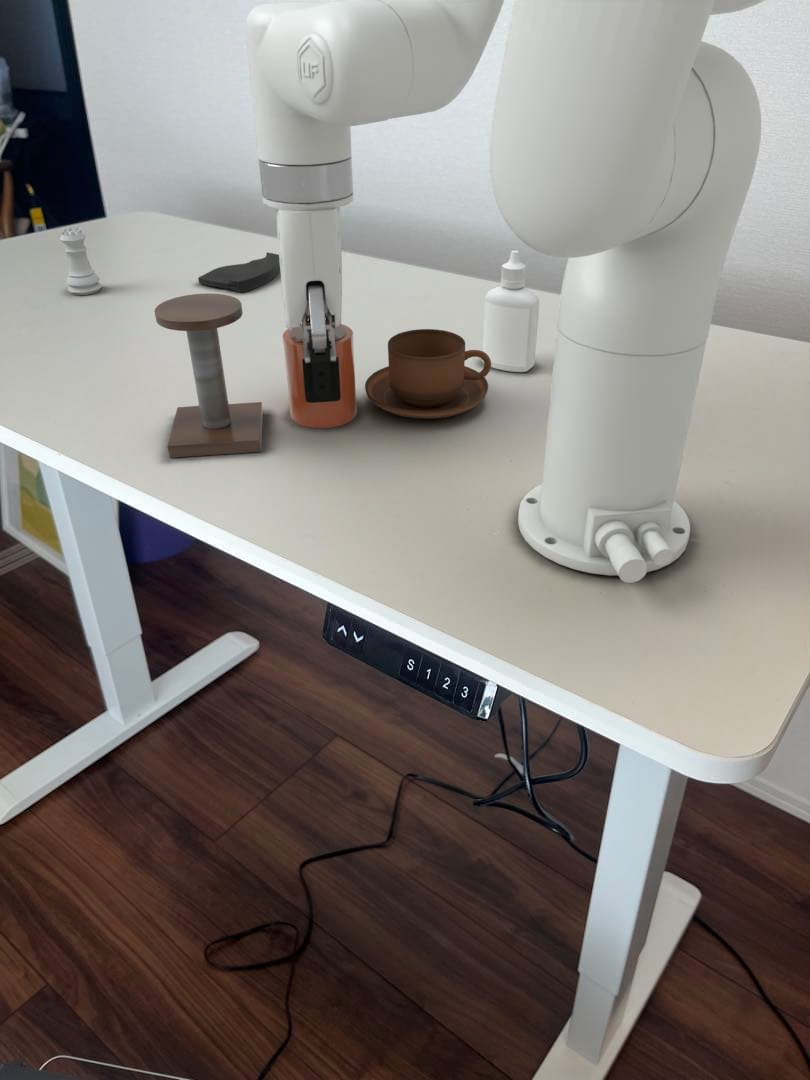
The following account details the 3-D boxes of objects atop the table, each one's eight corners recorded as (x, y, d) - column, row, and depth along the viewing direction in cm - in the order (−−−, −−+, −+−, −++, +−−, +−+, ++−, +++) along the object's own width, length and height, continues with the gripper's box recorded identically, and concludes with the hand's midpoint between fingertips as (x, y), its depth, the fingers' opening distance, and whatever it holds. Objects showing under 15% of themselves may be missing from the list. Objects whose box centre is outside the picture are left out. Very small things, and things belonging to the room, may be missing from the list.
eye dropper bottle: (506, 378, 85) (514, 261, 78) (476, 360, 89) (480, 248, 82) (540, 369, 87) (549, 254, 80) (508, 352, 91) (515, 241, 84)
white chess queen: (68, 287, 113) (53, 227, 108) (102, 284, 114) (88, 224, 109) (67, 297, 109) (52, 235, 105) (102, 294, 110) (88, 232, 106)
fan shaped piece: (304, 268, 119) (303, 257, 118) (241, 294, 109) (239, 282, 108) (260, 260, 122) (259, 249, 121) (195, 284, 113) (194, 272, 112)
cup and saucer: (457, 371, 87) (458, 314, 84) (508, 417, 78) (512, 355, 74) (349, 388, 84) (346, 330, 80) (390, 439, 74) (388, 375, 71)
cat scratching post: (261, 452, 73) (244, 320, 66) (169, 458, 72) (142, 325, 65) (263, 413, 79) (248, 289, 72) (179, 418, 79) (156, 294, 72)
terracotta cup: (359, 426, 77) (355, 343, 72) (290, 430, 76) (282, 347, 72) (354, 397, 82) (350, 318, 77) (290, 401, 81) (282, 322, 77)
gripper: (263, 163, 74) (282, 352, 84) (258, 208, 60) (281, 428, 70) (346, 160, 75) (355, 348, 85) (360, 204, 60) (369, 423, 71)
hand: (321, 382), depth 77 cm, fingers closed on terracotta cup, 6 cm apart
